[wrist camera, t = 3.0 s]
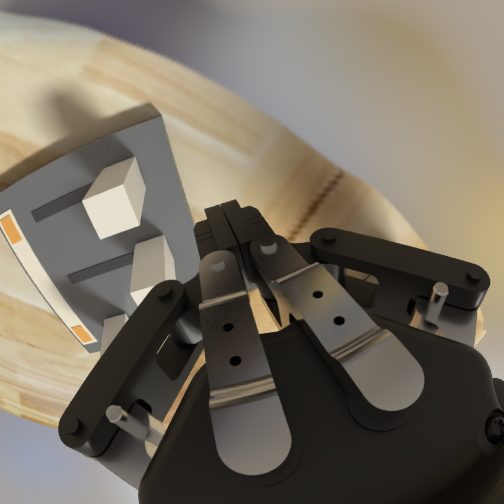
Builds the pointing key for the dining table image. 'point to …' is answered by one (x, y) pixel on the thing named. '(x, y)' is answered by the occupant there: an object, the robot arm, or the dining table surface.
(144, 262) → the middle slider
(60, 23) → the dining table surface
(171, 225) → the switch board
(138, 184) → the near slider
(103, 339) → the block
